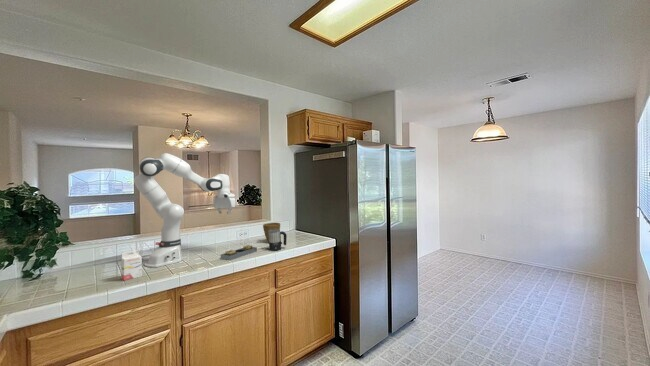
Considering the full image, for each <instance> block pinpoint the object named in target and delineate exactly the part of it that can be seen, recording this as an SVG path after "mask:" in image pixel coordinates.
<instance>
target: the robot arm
mask: <svg viewBox="0 0 650 366" xmlns="http://www.w3.org/2000/svg"><path fill="white" fill-rule="evenodd" d="M138 168H139V172H140V173H139V174H138V175H136V176H135V177H134V179H133V183H134V185H135V187H136V188H137V190H138V191H139V193H140V194H141V195H142V196H143V197H144V198H145V199H146V200H147V202H148V203H149V204H150V205H151V206H152V208H153V209H154V211H155V212H156V214H157V216H158V217H160V219H163V223H162V227H161V228H160V233H161V235H160V236H161V237H160V239H161V240H160V242H158V241H157V242H155V246H158V247H157V248H156V249H155V250H154V251H153V252H151V253H150V254H149V256H148V261H147V262H145V263H144V267H146V268H159V267H164V266H169V265H173V264H177V263H181V262H182V261H183V260H184V257H183V253H182V247H181V246H182V239H181V222H182V218H183V216H184V215H185V214H184V213H185V210H184V208H183V206H181V205H180V204H178V203H173V202H171V201H170V200H171V199H170V198H169V197H168V195H167V193H166V191H165V189H163V188H162V187H161V185H160V184H159V183H158V182H157V181H156V180H155V176H157V175H158V174H160V172H162V171H163V170H164V171H167V172H169V173H171V174H173V175H175V176H177V177H181V178H183V179H187V180H188V181H190V182H192V183H194V184H195V185H197V186H198V187H199V189H201V190H202V191H203V192H206V193H209V192H215V191H217V194H216V195H214V198H213V208H216V210H217V211H218V214H220V215H221V214H222V209H223V208H224V209H225V208H226V209H227V210H228V211H226V213H227V215H230V214H231V211H232V209H233V208H235V207H236V194H234V193H232V192H231V190H230V185H231V182H230V177H229V175H228V174H226V173H222V172H221V173H217V174H216V175H214V176H212V177H209V178H205V177H202V176H201V175H199V174H197V173H196V172H195V171H193V170H192V167H191V165H190V164H189V163H188V162H187V161H185V160H183V159H182V158H180V157H178V156H176V155H173V154H171V153H169V152H168V153H167V152H165V153H162V154H161V155H160V156H159V157H158V158H154V157H151V156H146V157H144V158H142V159H141V160H140V161H139V164H138Z"/></svg>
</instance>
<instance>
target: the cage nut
mask: <svg viewBox="0 0 650 366" xmlns="http://www.w3.org/2000/svg"><path fill="white" fill-rule="evenodd" d="M252 247H253V245H251V244H247V245H243V246H242V248H243V249H245V250H249V249H252Z"/></svg>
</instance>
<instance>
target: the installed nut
mask: <svg viewBox="0 0 650 366" xmlns="http://www.w3.org/2000/svg"><path fill="white" fill-rule="evenodd" d="M234 250H235V249H234ZM234 250H233V249H230V250H227V251H225V252H224V253H226V255H233V254H236V251H234Z"/></svg>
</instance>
